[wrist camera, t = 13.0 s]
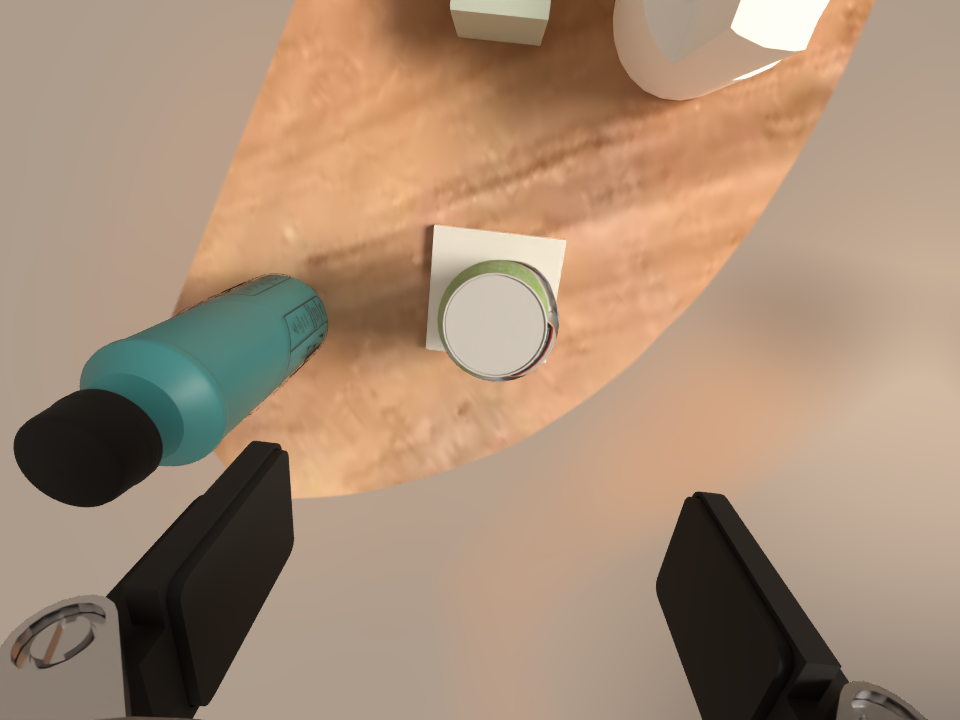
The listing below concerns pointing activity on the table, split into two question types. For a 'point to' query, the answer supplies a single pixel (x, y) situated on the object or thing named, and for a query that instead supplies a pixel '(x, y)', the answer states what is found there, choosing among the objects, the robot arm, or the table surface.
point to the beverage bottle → (170, 391)
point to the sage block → (501, 20)
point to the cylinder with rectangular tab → (707, 41)
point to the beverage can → (498, 319)
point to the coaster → (478, 245)
